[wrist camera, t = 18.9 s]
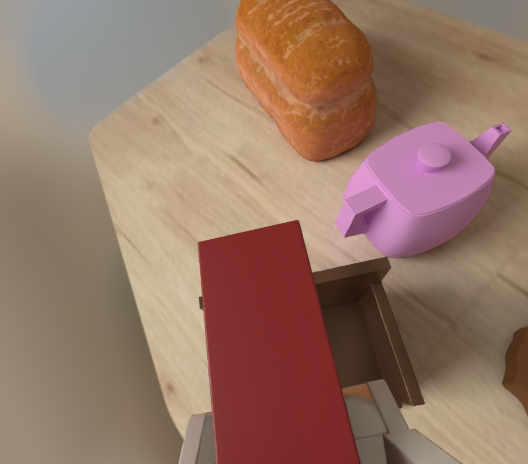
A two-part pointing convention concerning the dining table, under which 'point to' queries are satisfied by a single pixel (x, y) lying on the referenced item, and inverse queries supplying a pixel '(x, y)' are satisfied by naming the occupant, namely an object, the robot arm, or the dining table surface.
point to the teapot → (420, 188)
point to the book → (270, 353)
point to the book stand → (364, 329)
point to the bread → (308, 72)
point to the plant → (518, 367)
